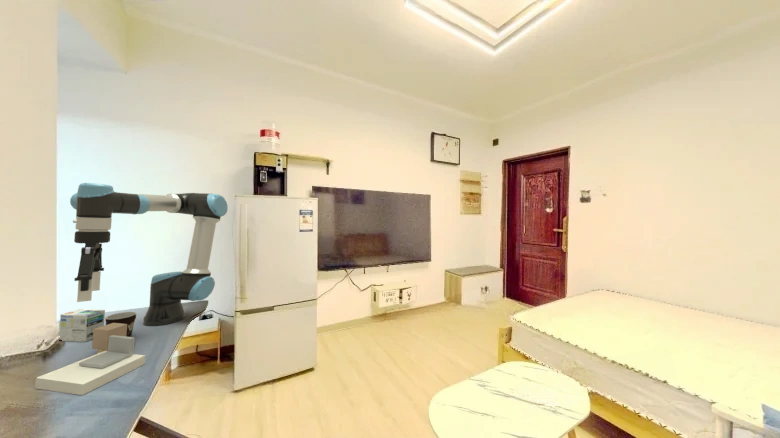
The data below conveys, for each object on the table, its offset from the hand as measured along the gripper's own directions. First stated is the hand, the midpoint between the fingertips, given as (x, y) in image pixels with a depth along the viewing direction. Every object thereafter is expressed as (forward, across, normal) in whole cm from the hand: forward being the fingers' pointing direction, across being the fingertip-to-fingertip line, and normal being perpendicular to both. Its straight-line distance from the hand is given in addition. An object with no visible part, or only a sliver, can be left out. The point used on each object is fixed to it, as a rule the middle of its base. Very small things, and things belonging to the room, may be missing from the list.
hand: (89, 295), depth 81 cm
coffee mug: (+25, -23, +7) cm, 35 cm away
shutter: (+21, +4, +5) cm, 22 cm away
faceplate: (+24, +6, +3) cm, 25 cm away
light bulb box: (+25, -33, -6) cm, 42 cm away
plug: (+24, -12, +4) cm, 27 cm away
